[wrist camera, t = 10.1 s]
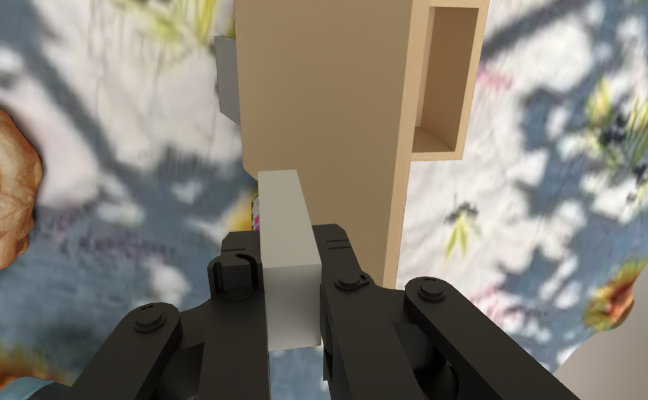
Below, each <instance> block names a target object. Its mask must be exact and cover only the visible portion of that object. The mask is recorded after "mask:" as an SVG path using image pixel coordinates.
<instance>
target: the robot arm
mask: <svg viewBox="0 0 648 400" xmlns="http://www.w3.org/2000/svg"><path fill="white" fill-rule="evenodd" d="M258 191H259V218H260V230H252V231H238V232H229V234H228V235H227V236H226V237H225V238H224V239H223V240H222V247H221V255H220V256H217V257H216V258H214V259H213V260H212V261H211V262H210V263H209V265H208V267H207V270H208V278H209V285H210V292H211V298H210V299H209V300H208V301H207V302H205V303H203V304H202V305H200V306H198V307H195V308H193V309H190V310H187V311H183V312H180V313H179V311H178V309H177V308H176V307H175V306H173V305H172V304H168V303H163V302H160V303H150V304H146V305H143V306H140V307H138V308H136V309H134V310H133V311H131V312H129V313H128V314H127V315H126V316H125V317H124V318H123V319H122V320H121V322H120V323H119V324H118V326H117V327H116V328H115V330H114V331H113V332H112V333H111V335H110V336H109V337H108V339H107V340H106V341H105V343H104V344H103V345H102V347H101V348H100V349H99V351H98V352H97V353H96V355H95V356H94V357H93V359H92V360H91V361H90V363H89V364H88V365H87V367H86V368H85V369H84V371H83V372H82V373H81V375H80V376H79V377H78V378H77V380H76V381H75V382H74V384H73V385H72V386H71V387H69V386H66V385H63V384H59V383H57V382H56V381H46V380H41V379H37V378H33V377H22V378H18V379H16V380H14V381H12V382H11V383H10V384H8V385H7V386H6V387H5V388H4V389H3V390H2V391H1V392H0V400H271V385H270V367H269V352H268V351H276V350H285V349H293V348H302V347H311V346H320V345H321V335H322V340H323V345H324V358H323V381H325V380H328V385H329V391H330V396H331V400H580V399H579V398H578V397H577V396H576V395H574V394H573V393H572V392H571V391H570V390H569V389H568V388H566V387H565V386H564V385H563V384H562V383H561V382H560V381H559V380H558V379H556V378H555V377H554V376H553V375H552V374H551V373H550V372H549V371H548V370H546V369H545V368H544V367H543V366H542V365H541V364H540V363H539V362H537V361H536V360H535V359H534V358H533V357H532V356H531V355H530V354H528V353H527V352H526V351H525V350H524V349H523V348H522V347H521V346H519V345H518V344H517V343H516V342H515V341H514V340H513V339H512V338H510V337H509V336H508V335H507V334H506V333H505V332H504V331H503V330H501V329H500V328H499V327H498V326H497V325H496V324H495V323H494V322H492V321H491V320H490V319H489V318H488V317H487V316H486V315H485V314H483V313H482V312H481V311H480V310H479V309H478V308H477V307H476V306H475V305H473V304H472V303H471V302H470V301H469V300H468V299H467V298H466V297H464V296H463V295H462V294H461V293H460V292H459V291H458V290H457V289H455V288H454V287H453V286H452V285H450V284H449V283H447V282H446V281H444V280H441V279H438V278H434V277H426V276H425V277H417V278H414V279H412V280H410V281H409V282H408V283H407V284H406V285H405V291H404V290H396V289H389V288H384V287H381V286H378V285H375V283H374V280H373V279H372V278H371V276H370V275H369V274H367V273H365V272H364V271H362V270H361V268H360V265H359V263H358V260H357V258H356V255H355V253H354V251H353V248H352V246H351V243H350V241H349V238H348V236H347V233H346V231H345V230H344V229H343V228H341V227H340V226H339V225H338V224H322V225H311V222H310V218H309V215H308V211H307V207H306V203H305V200H304V196H303V192H302V189H301V185H300V181H299V177H298V174H297V170H279V171H259V172H258Z"/></svg>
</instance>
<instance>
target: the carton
mask: <svg viewBox="0 0 648 400" xmlns="http://www.w3.org/2000/svg"><path fill="white" fill-rule="evenodd" d="M489 2H490V0H430V5H429V13H428V21H427V29H426V38H425V46H424V54H423V63H422V71H421V79H420V87H419V96H418V104H417V112H416V120H415V129H414V137H413V145H412V153H411V161H438V160H462V157H463V151H464V145H465V139H466V134H467V128H468V122H469V117H470V111H471V105H472V99H473V94H474V88H475V82H476V77H477V71H478V65H479V60H480V54H481V48H482V42H483V37H484V31H485V25H486V20H487V14H488V8H489Z"/></svg>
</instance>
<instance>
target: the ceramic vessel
mask: <svg viewBox="0 0 648 400" xmlns="http://www.w3.org/2000/svg"><path fill="white" fill-rule="evenodd" d="M42 176H43V173H42V162H41V156H40V155H39V154H38V153H37V151H36V150H35V149H34V147H33V146H32V144H31V143H30V142H29V140H28V139H27V138H26V137H25V136H24V135H23V134H22V132H21V131H20V130H19V129H18V128H17V127H16V125H15V124H14V122H13V120H12V117H11V116H9V115H8V114H7V113H6V112H5V111H3V110H1V109H0V270H1V269H3V268H5V267H7V266H9V265H10V264H12V263H13V262H14V261H15V259H16V257H17V256H19V255H21V254H23V253H24V252H25V251H26V250H27V248H28V246H29V237H28V233H29V232H30V231H31V230H32V229H33V225H34V219H33V217H32V210H33V207H34V202H35V196H36V192H37V188H38V186H39V185H40V184H41V180H42Z"/></svg>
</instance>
